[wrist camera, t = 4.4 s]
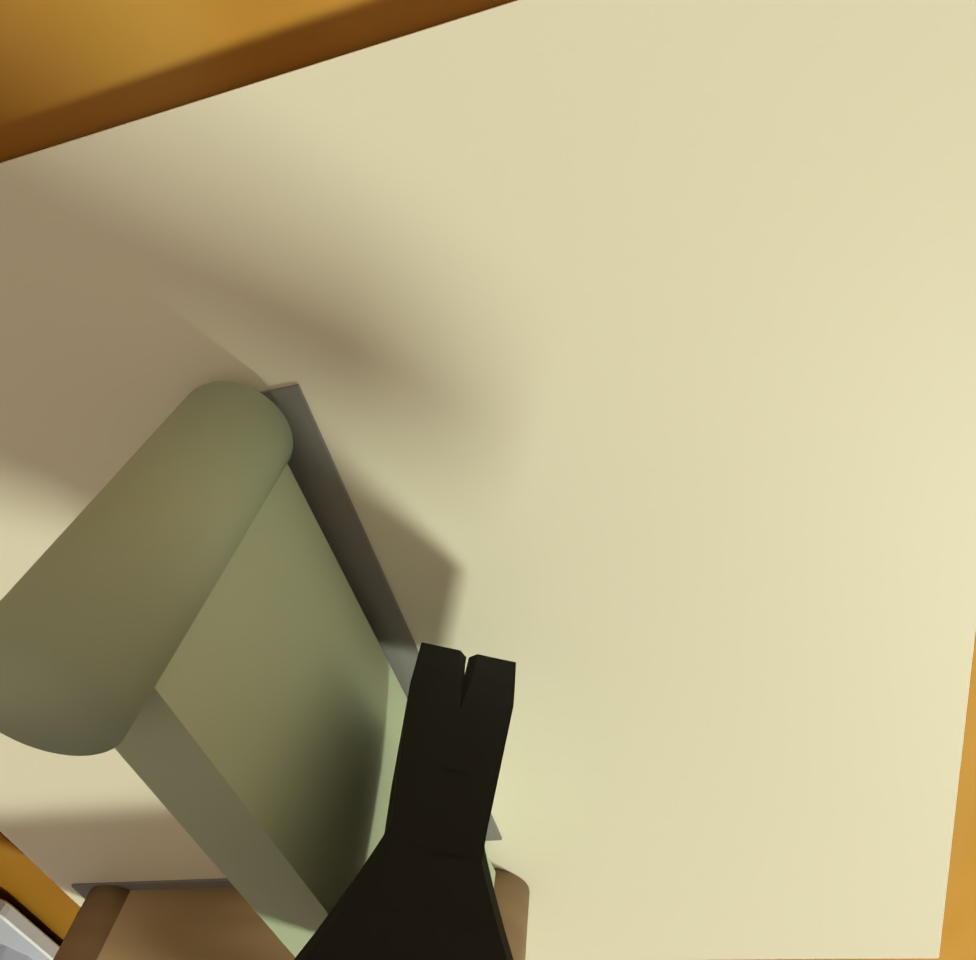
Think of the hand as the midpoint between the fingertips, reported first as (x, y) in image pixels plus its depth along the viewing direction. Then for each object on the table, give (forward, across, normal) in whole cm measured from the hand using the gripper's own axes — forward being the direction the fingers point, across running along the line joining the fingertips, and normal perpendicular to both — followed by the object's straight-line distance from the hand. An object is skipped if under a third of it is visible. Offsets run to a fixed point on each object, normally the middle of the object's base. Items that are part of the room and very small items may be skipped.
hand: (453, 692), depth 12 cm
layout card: (+2, +2, +2) cm, 3 cm away
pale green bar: (+1, +1, +1) cm, 2 cm away
